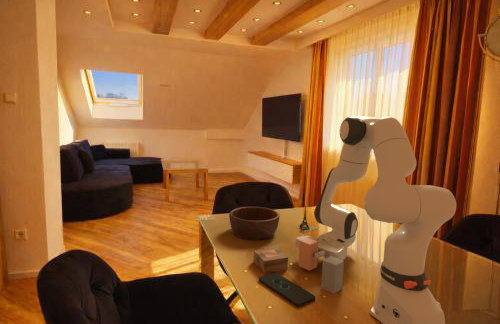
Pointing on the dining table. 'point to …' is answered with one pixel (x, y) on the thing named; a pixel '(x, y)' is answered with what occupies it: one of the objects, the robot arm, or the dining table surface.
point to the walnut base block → (270, 260)
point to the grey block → (332, 274)
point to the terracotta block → (308, 253)
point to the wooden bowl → (254, 222)
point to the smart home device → (287, 289)
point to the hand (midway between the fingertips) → (307, 252)
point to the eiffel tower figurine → (306, 224)
